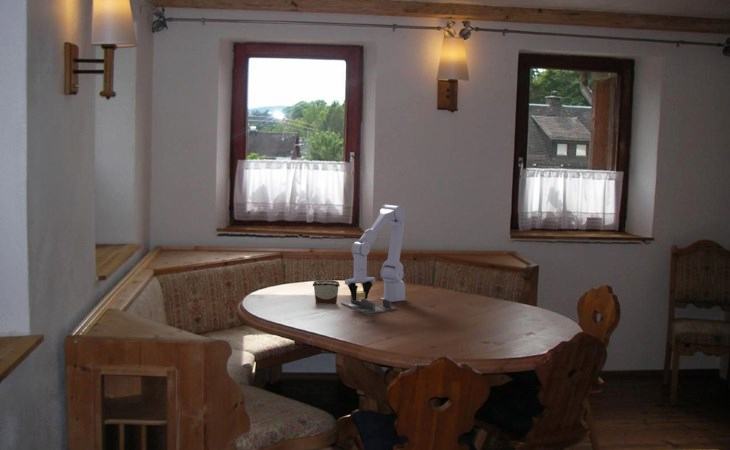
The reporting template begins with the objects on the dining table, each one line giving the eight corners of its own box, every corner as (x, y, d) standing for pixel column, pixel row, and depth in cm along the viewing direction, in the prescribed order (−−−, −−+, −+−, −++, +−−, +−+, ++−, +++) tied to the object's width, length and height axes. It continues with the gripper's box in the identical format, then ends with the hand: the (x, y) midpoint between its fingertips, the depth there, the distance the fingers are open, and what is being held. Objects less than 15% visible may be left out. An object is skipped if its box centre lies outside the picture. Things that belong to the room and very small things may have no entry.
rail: (360, 302, 353) (360, 291, 352) (385, 311, 335) (385, 300, 334) (341, 304, 347) (341, 293, 347) (365, 314, 330) (365, 302, 329)
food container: (341, 301, 353) (341, 280, 352) (339, 304, 347) (339, 282, 346) (314, 300, 354) (314, 279, 353) (312, 303, 348) (312, 281, 347)
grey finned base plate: (388, 306, 345) (388, 297, 344) (397, 309, 339) (397, 300, 338) (377, 307, 341) (377, 299, 341) (385, 311, 335) (385, 302, 335)
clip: (354, 298, 345) (354, 291, 344) (363, 298, 345) (363, 290, 345) (356, 300, 341) (356, 293, 340) (365, 300, 341) (365, 292, 341)
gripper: (369, 266, 348) (369, 295, 350) (341, 268, 341) (341, 299, 343) (377, 268, 343) (377, 298, 344) (349, 271, 335) (349, 302, 337)
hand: (359, 299), depth 343 cm, fingers closed on clip, 5 cm apart
